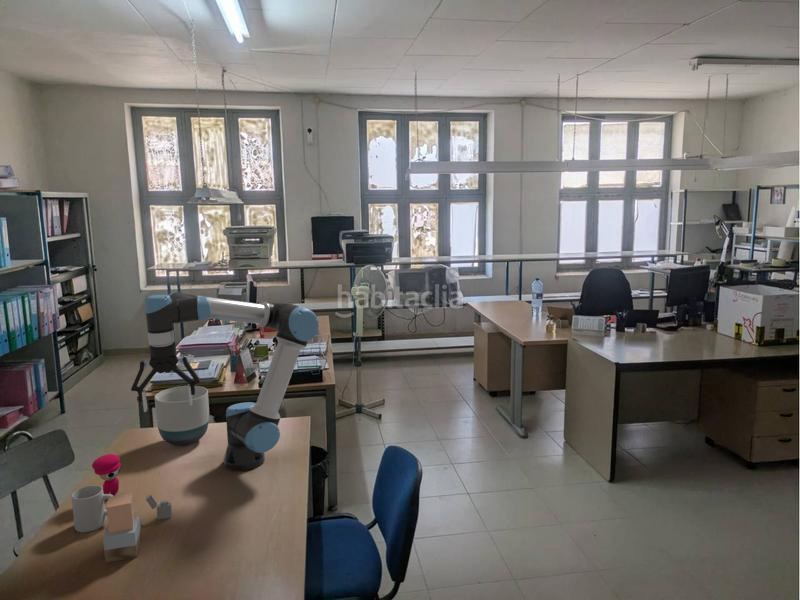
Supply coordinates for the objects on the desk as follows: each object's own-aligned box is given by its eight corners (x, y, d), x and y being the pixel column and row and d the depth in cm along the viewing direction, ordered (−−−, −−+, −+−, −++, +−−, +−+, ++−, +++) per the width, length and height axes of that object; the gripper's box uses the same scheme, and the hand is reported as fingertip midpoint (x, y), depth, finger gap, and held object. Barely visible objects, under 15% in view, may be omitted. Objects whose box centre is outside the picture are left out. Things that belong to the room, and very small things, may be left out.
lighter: (172, 514, 174) (170, 491, 173) (171, 517, 172) (169, 494, 171) (148, 518, 172) (146, 494, 171) (147, 521, 170) (145, 497, 169)
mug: (70, 534, 163) (67, 501, 161) (79, 519, 171) (76, 486, 170) (114, 529, 166) (111, 495, 164) (121, 514, 174) (118, 482, 172)
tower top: (140, 529, 160) (139, 516, 159) (135, 545, 152) (134, 532, 151) (110, 533, 157) (109, 521, 157) (104, 550, 150) (102, 537, 149)
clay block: (134, 518, 158) (132, 492, 157) (133, 529, 153) (130, 503, 151) (111, 522, 156) (108, 497, 154) (109, 534, 150) (106, 507, 149)
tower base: (141, 541, 160) (140, 528, 160) (136, 557, 153) (135, 544, 152) (111, 546, 158) (110, 533, 157) (105, 563, 151) (103, 550, 150)
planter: (151, 442, 228) (147, 393, 224) (198, 428, 241) (195, 382, 238) (169, 458, 213) (165, 406, 209) (219, 443, 227) (216, 394, 223)
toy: (111, 505, 179) (107, 462, 177) (89, 502, 181) (85, 460, 178) (129, 492, 188) (125, 451, 185) (108, 489, 189) (104, 449, 187)
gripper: (203, 337, 180) (209, 398, 183) (120, 345, 171) (127, 408, 175) (203, 342, 173) (209, 405, 176) (116, 351, 165) (124, 417, 168)
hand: (168, 407), depth 176 cm, fingers open, 13 cm apart
